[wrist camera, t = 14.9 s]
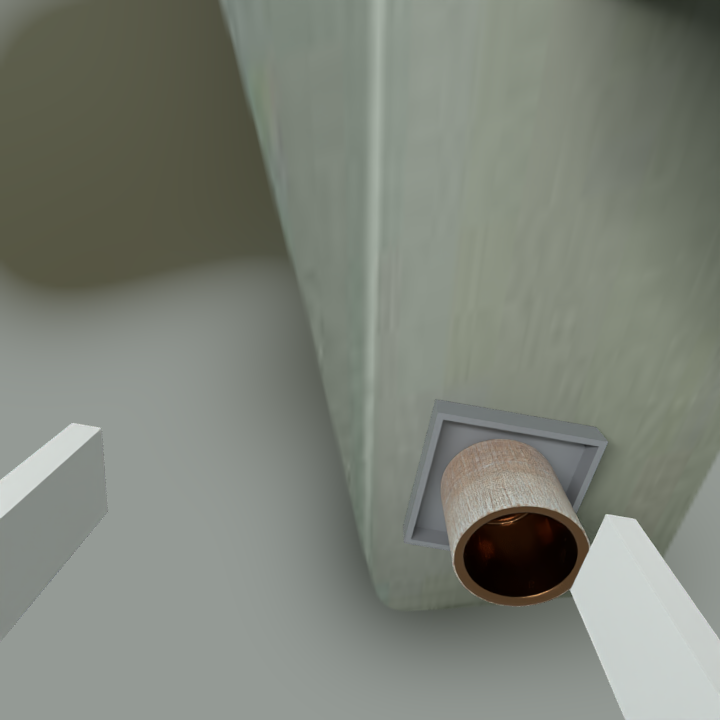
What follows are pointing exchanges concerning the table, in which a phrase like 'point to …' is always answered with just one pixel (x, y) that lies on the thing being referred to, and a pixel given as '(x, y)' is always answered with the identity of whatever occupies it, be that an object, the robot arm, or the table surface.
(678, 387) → the table surface
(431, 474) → the tray
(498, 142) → the table surface
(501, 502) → the planter
